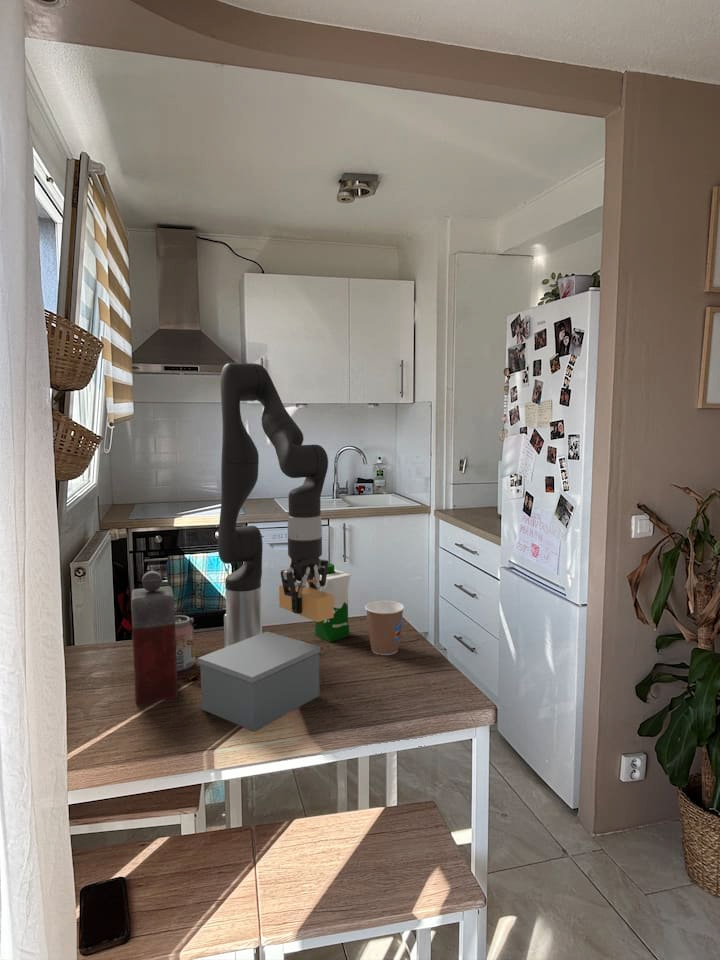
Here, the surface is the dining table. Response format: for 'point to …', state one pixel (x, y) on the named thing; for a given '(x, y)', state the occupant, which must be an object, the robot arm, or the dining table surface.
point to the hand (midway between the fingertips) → (305, 609)
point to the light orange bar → (310, 603)
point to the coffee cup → (384, 626)
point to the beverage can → (184, 642)
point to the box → (259, 693)
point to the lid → (258, 656)
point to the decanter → (154, 640)
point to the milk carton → (335, 606)
